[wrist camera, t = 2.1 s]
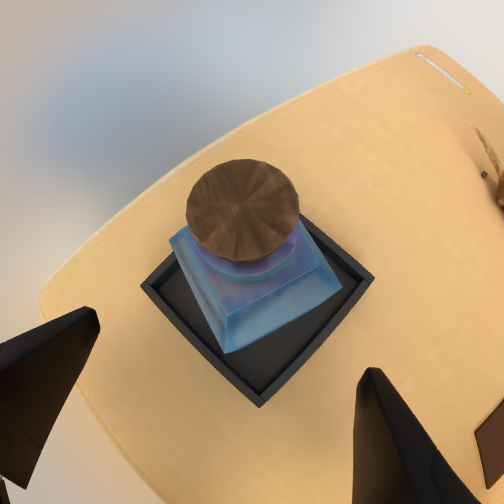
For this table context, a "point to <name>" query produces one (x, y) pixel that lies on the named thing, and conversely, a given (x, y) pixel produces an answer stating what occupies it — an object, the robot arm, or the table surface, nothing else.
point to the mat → (492, 445)
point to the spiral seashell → (500, 167)
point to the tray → (274, 344)
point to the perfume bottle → (250, 253)
